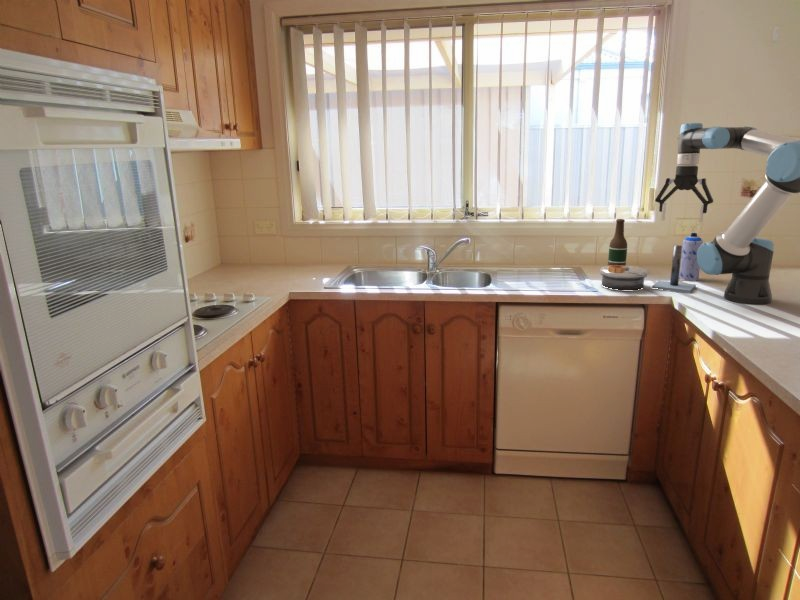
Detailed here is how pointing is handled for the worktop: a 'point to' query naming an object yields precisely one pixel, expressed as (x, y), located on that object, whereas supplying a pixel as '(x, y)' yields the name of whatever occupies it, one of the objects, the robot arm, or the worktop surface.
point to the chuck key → (676, 265)
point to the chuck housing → (622, 283)
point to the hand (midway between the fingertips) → (681, 221)
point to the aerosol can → (690, 258)
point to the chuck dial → (623, 272)
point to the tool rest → (680, 288)
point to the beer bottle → (618, 246)
